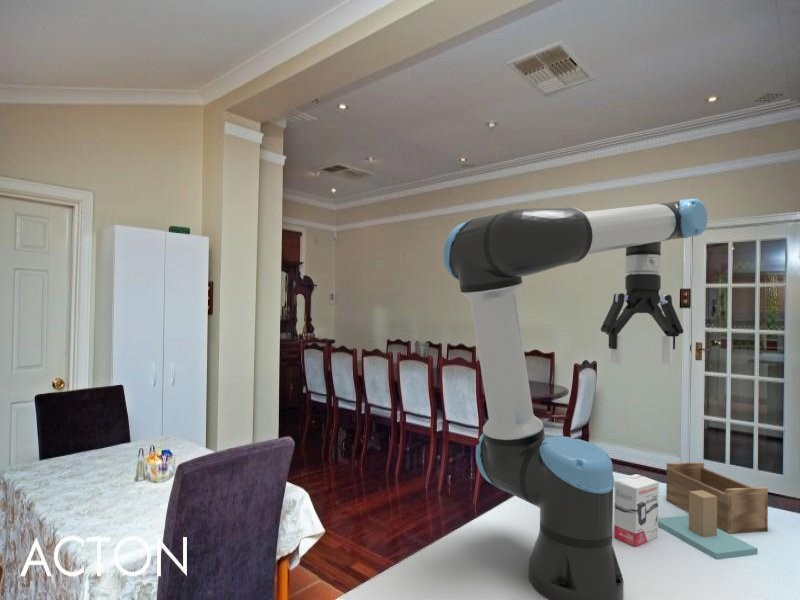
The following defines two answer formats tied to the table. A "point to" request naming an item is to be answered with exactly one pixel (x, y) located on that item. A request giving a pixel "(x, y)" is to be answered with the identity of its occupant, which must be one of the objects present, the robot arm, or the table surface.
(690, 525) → the lid
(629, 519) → the ink box
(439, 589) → the table surface
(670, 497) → the box
